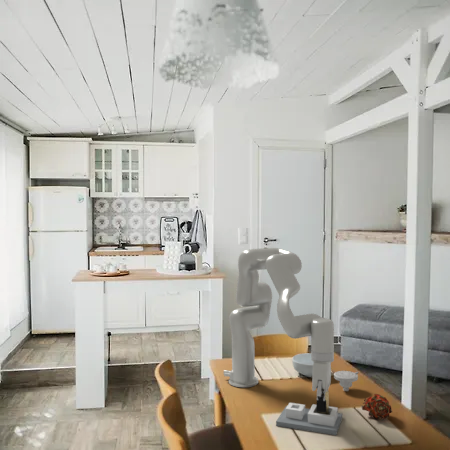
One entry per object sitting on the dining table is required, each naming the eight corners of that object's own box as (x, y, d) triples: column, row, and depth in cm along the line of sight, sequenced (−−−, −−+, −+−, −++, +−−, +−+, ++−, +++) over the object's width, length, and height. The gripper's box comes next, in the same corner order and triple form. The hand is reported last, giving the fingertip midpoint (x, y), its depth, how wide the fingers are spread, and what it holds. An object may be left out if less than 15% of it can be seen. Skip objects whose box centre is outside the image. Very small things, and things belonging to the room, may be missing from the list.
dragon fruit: (388, 429, 160) (365, 420, 171) (402, 411, 163) (380, 403, 174) (373, 410, 159) (352, 403, 170) (388, 392, 162) (367, 386, 173)
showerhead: (362, 375, 188) (338, 376, 187) (363, 393, 188) (338, 395, 187) (354, 368, 197) (330, 368, 196) (354, 385, 197) (330, 386, 196)
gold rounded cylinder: (315, 416, 161) (315, 392, 160) (318, 411, 164) (317, 388, 164) (327, 417, 159) (327, 394, 159) (329, 413, 163) (329, 389, 163)
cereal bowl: (285, 376, 209) (285, 360, 209) (302, 366, 223) (302, 351, 223) (321, 383, 200) (321, 367, 200) (336, 372, 213) (336, 356, 213)
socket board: (276, 425, 161) (276, 412, 160) (286, 409, 174) (286, 397, 174) (336, 435, 153) (336, 421, 153) (342, 417, 166) (342, 404, 166)
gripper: (316, 347, 170) (316, 398, 171) (306, 361, 155) (306, 417, 155) (337, 349, 168) (337, 401, 168) (329, 364, 152) (329, 420, 153)
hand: (322, 408), depth 162 cm, fingers closed on gold rounded cylinder, 4 cm apart
